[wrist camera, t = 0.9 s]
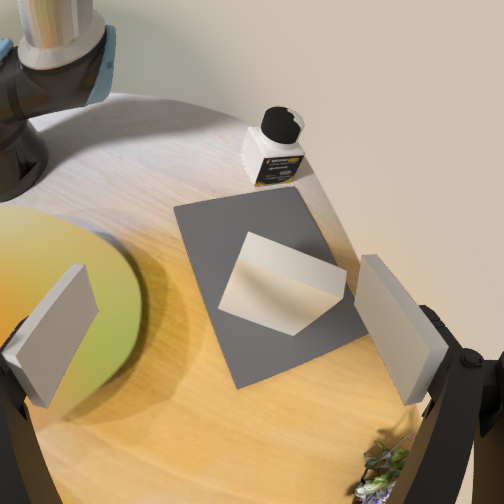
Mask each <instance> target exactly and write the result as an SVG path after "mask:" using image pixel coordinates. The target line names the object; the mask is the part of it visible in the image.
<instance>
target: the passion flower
mask: <svg viewBox="0 0 504 504" xmlns="http://www.w3.org/2000/svg"><path fill="white" fill-rule="evenodd" d="M406 438H408V439H409V440H410V441H411V440H412V439H413V438H414V436H413V435H407V436H405V437H404V438H403V439H402V440H401V441H400V442H398V443H397V444H396V445H395V446H394V447H393V448H392V449H391V450H387V449H386V448H385V446H384V445H383V444H382V443H381V442H379V441H374V442H375V443H376V444H377V445H378V446H379V447H380V448H381V450H382V452H383V455H382V456H381V457H380V458H374V457H368V456H367V455H366V453H364V455H365V458H366V464H365V467H366V470H365V472H364V474H363V475H362V478H361V483H360V484H358V487H357V488H355V489H354V494H355V495H356V496H357V497H360V498H361V499H362V501H356V502H354V503H352V504H385V502H386V500H387V498H388V497H389V495H390V493H391V491H392V489H393V487H394V485H395V483H396V481H397V479H398V477H399V475H400V473H401V471H402V469H403V466H404V464H405V462H406V460H407V458H408V455H409V453H410V451H407V450H404V449H402V448H397V449H396V450H395V451H394V453H392V454H391V451H392V450H394V449H395V448H396V447H397V446H398V445H399V444H400V443H401V442H402V441H404V440H405V439H406ZM384 458H385V459H386V462H385V464H384V465H383V466H375V464H376V463H377V462H379V461H380V460H382V459H384ZM381 468H385V469H388V470H389V471H388V472H387V473H385V474H383V475H381V476H380V474H379V472H378V471H379V469H381ZM368 469H372V470H374V471H375V472H376V473H377V475H378V476H379V477H376V478H373V479H370V480H368V479H365V478H364V477H365V475H366V474H367V471H368ZM393 475H394V476H395V478H396V480H394V481H393V482H391V483H389V482H390V479H391V478H392V476H393Z"/></svg>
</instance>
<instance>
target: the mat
mask: <svg viewBox="0 0 504 504" xmlns="http://www.w3.org/2000/svg"><path fill="white" fill-rule="evenodd" d="M174 213H175V216H176V219H177V222H178V226H179V229H180V232H181V235H182V238H183V241H184V244H185V248H186V251H187V254H188V257H189V260H190V263H191V266H192V269H193V272H194V275H195V278H196V281H197V284H198V286H199V289H200V292H201V295H202V298H203V301H204V304H205V306H206V309H207V312H208V315H209V318H210V320H211V323H212V326H213V328H214V331H215V334H216V337H217V339H218V342H219V345H220V347H221V350H222V352H223V355H224V358H225V360H226V363H227V365H228V368H229V371H230V373H231V376H232V378H233V381H234V383H235V386H236V388H237V389H240V388H243V387H245V386H248V385H251V384H253V383H256V382H259V381H261V380H264V379H267V378H269V377H272V376H274V375H277V374H279V373H282V372H284V371H287V370H289V369H291V368H294V367H296V366H298V365H301V364H303V363H305V362H308V361H310V360H312V359H315V358H317V357H319V356H321V355H323V354H326V353H328V352H330V351H332V350H334V349H336V348H339V347H341V346H343V345H345V344H347V343H349V342H351V341H353V340H355V339H357V338H359V337H361V336H363V335H365V334H367V333H369V332H368V330H367V328H366V326H365V324H364V323H363V321H362V319H361V317H360V315H359V313H358V311H357V309H356V307H355V305H354V301H355V299H354V297H353V295H352V293H351V291H350V289H349V287H348V285H347V283H345V289H344V295H343V299H342V300H340V301H339V302H338V303H337V304H335V305H334V306H333V307H331V308H330V309H329V310H328V311H326V312H325V313H324V314H322V315H321V316H320V317H318V318H317V319H316V320H315V321H313V322H312V323H311V324H309V325H308V326H307V327H305V328H304V329H303V330H301V331H300V332H298V333H297V334H296V335H294V336H292V335H289V334H286V333H283V332H280V331H277V330H274V329H271V328H269V327H266V326H263V325H260V324H257V323H255V322H252V321H249V320H246V319H244V318H241V317H238V316H236V315H233V314H230V313H228V312H225V311H222V310H220V309H218V307H219V304H220V301H221V299H222V296H223V293H224V291H225V288H226V286H227V283H228V281H229V278H230V276H231V273H232V271H233V268H234V266H235V263H236V261H237V258H238V256H239V253H240V251H241V248H242V246H243V243H244V241H245V238H246V236H247V233H248V231H249V232H251V233H254V234H256V235H259V236H261V237H264V238H266V239H269V240H272V241H274V242H277V243H279V244H282V245H284V246H287V247H289V248H292V249H294V250H297V251H299V252H302V253H304V254H307V255H309V256H312V257H314V258H317V259H319V260H322V261H324V262H327V263H329V264H332V265H334V266H337V267H338V265H337V264H336V262H335V260H334V258H333V256H332V254H331V252H330V250H329V248H328V246H327V244H326V243H325V241H324V239H323V237H322V235H321V233H320V231H319V230H318V228H317V226H316V224H315V222H314V220H313V219H312V217H311V215H310V213H309V211H308V209H307V208H306V206H305V204H304V202H303V201H302V199H301V197H300V195H299V194H298V192H297V190H296V188H295V187H294V186H293V187H286V188H279V189H273V190H266V191H260V192H253V193H247V194H241V195H235V196H229V197H224V198H218V199H212V200H207V201H201V202H196V203H191V204H185V205H180V206H175V207H174Z"/></svg>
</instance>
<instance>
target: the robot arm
mask: <svg viewBox="0 0 504 504" xmlns="http://www.w3.org/2000/svg"><path fill="white" fill-rule="evenodd" d="M92 1H93V0H16V3H17V7H18V11H19V15H20V19H21V23H22V27H23V31H24V35H23V37H22V38H21V41H20V43H19V46H16V47H13V42H12V40H11V39H10V38H5V39H4V38H3V39H0V202H3V201H7V200H10V199H12V198H14V197H16V196H18V195H20V194H21V193H23V192H24V191H26V190H27V189H28V188H29V187H30V186H32V185H33V184H34V183H35V182H36V180H37V179H38V178H39V177H40V175H41V174H42V172H43V171H44V169H45V166H46V164H47V160H48V151H47V148H46V145H45V142H44V140H43V138H42V137H41V135H40V134H39V133H38V131H37V130H36V129H35V128H34V126H33V125H32V124H31V123H30V121H29V120H28V119H29V118H33V117H37V116H41V115H45V114H49V113H54V112H58V111H63V110H68V109H73V108H79V107H85V106H87V105H89V104H94V103H98V102H102V101H103V100H105V99H106V98H107V97H108V95H109V93H110V90H111V85H112V78H113V69H114V65H113V63H114V57H115V47H116V29H115V27H114V26H111V25H105V22H104V19H103V17H102V15H101V14H100V13H98V12H97V11H95V10H93V2H92ZM354 305H355V307H356V309H357V311H358V313H359V315H360V317H361V319H362V321H363V323H364V324H365V326H366V328H367V330H368V332H369V334H370V336H371V338H372V340H373V342H374V344H375V346H376V348H377V350H378V352H379V354H380V356H381V358H382V360H383V362H384V364H385V366H386V368H387V370H388V372H389V374H390V376H391V379H392V381H393V383H394V385H395V387H396V389H397V391H398V393H399V395H400V398H401V400H402V402H403V404H404V406H407V405H411V404H415V403H418V402H422V400H423V398H424V397H425V395H426V393H427V391H428V393H429V394H430V396H431V398H432V399H431V400H430V402H429V404H428V406H427V407H426V409H425V411H424V412H423V414H422V417H424V418H423V421H422V423H421V426H420V429H419V431H418V434H417V436H416V439H415V441H414V444H413V446H412V448H411V451H410V453H409V455H408V458H407V460H406V462H405V464H404V466H403V469H402V471H401V473H400V475H399V477H398V479H397V481H396V483H395V485H394V487H393V489H392V491H391V493H390V495H389V497H388V498H387V500H386V502H385V504H455V502H456V499H457V496H458V494H459V491H460V488H461V485H462V481H463V478H464V475H465V472H466V468H467V465H468V461H469V457H470V453H471V449H472V445H473V441H474V475H473V494H472V504H504V351H503V352H502V354H501V356H500V358H499V360H484V359H483V357H482V356H481V355H480V354H479V353H478V352H476V351H474V350H472V349H468V348H462V347H461V345H460V344H459V343H458V341H457V340H456V339H455V338H454V336H453V335H452V333H451V332H450V331H449V330H448V328H447V327H445V324H444V323H443V322H442V321H440V318H439V317H438V316H437V314H436V313H435V312H434V311H433V310H431V309H430V308H429V307H427V306H426V305H419V306H418V305H417V304H416V302H415V301H414V300H413V298H412V297H411V296H410V295H409V293H408V292H407V291H406V290H405V288H404V287H403V286H402V285H401V283H400V282H399V281H398V280H397V278H396V277H395V276H394V275H393V274H392V272H391V271H390V270H389V269H388V268H387V266H386V265H385V264H384V263H383V262H382V260H381V259H380V258H379V257H378V256H377V255H362V258H361V264H360V271H359V277H358V284H357V290H356V295H355V301H354ZM97 313H98V308H97V305H96V302H95V298H94V295H93V292H92V288H91V284H90V281H89V277H88V274H87V270H86V266H85V264H76V265H72V266H71V267H70V268H69V269H68V270H67V271H66V272H65V274H64V275H63V276H62V277H61V278H60V279H59V280H58V281H57V283H56V284H55V285H54V286H53V287H52V288H51V290H50V291H49V292H48V293H47V294H46V296H45V297H44V298H43V299H42V301H41V302H40V303H39V304H38V306H37V307H36V308H35V309H34V310H33V312H32V313H31V314H30V315H29V316H28V317H26V318H25V319H23V320H22V321H21V322H20V323H19V324H18V325H17V327H16V328H15V330H14V331H13V332H12V333H11V335H10V337H8V339H7V340H6V341H5V343H4V344H3V345H2V347H1V348H0V504H63V503H62V501H61V498H60V496H59V494H58V492H57V490H56V487H55V485H54V483H53V480H52V478H51V476H50V473H49V471H48V468H47V466H46V463H45V461H44V458H43V455H42V452H41V450H40V447H39V444H38V441H37V438H36V435H35V432H34V429H33V425H32V422H31V419H30V415H29V412H28V407H27V406H26V404H25V402H24V400H25V398H26V396H28V397H29V399H30V400H31V402H32V403H33V405H36V406H40V407H44V408H48V407H49V405H50V403H51V401H52V398H53V396H54V394H55V392H56V390H57V388H58V386H59V384H60V382H61V380H62V378H63V376H64V374H65V372H66V370H67V368H68V366H69V364H70V362H71V360H72V358H73V357H74V355H75V353H76V351H77V348H78V347H79V345H80V343H81V341H82V340H83V338H84V336H85V334H86V332H87V331H88V329H89V327H90V325H91V324H92V322H93V320H94V318H95V317H96V315H97Z"/></svg>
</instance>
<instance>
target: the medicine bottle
mask: <svg viewBox="0 0 504 504" xmlns="http://www.w3.org/2000/svg"><path fill="white" fill-rule="evenodd" d="M303 128H304V122H303V119H302V118H301V116H300V115H299V114H297V113H296V112H295V111H293V110H290V109H288V108H285V107H272V108H270V109H268V110H267V111H266V112H265V115H264V118H263V121H262V124H261V126H254V127H249V128H248V131H247V134H246V138H245V141H244V144H243V148H242V151H241V155H240V159H241V161H242V163H243V165H244V167H245V169H246V171H247V173H248V175H249V177H250V180H251V182H252V184H253V186H254V187H258V186H265V185H273V184H281V183H289V182H291V181H292V179H293V177H294V175H295V173H296V171H297V169H298V167H299V165H300V163H301V161H302V159H303V157H304V155H305V152H304V151H303V149H302V148H301V146H300V145H299V143H298V142H297V141H298V139H299V137H300V134H301V132H302V130H303Z"/></svg>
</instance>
